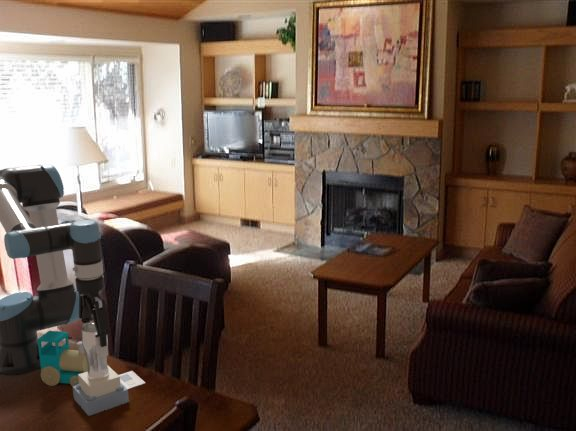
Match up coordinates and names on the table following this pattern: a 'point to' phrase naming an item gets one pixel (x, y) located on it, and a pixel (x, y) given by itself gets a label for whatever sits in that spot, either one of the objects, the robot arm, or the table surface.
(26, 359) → the robot arm
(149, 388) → the table surface
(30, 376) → the table surface
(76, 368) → the toy train
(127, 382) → the page
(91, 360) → the beer glass
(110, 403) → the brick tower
